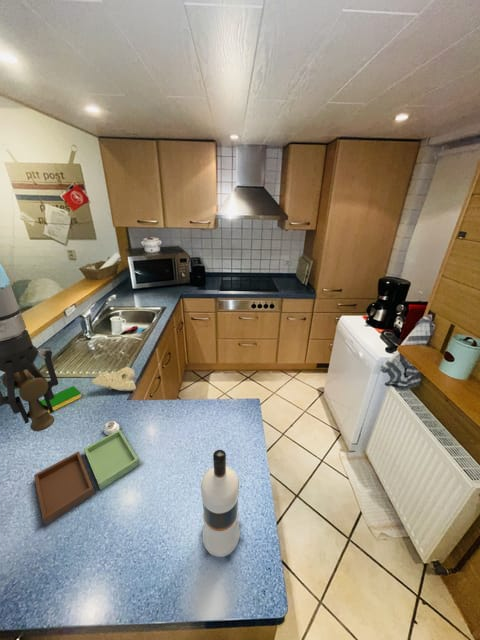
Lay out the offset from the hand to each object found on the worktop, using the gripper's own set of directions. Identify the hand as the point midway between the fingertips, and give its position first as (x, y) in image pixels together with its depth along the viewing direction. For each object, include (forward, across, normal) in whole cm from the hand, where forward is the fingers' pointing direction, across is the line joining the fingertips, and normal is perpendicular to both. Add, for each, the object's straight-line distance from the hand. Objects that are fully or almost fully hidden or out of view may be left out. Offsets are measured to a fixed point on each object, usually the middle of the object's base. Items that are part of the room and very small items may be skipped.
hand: (39, 414), depth 64 cm
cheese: (+26, +25, +31) cm, 48 cm away
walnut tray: (+26, -1, -2) cm, 26 cm away
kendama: (+4, 0, 0) cm, 4 cm away
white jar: (+26, +16, +10) cm, 32 cm away
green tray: (+26, +12, -2) cm, 29 cm away
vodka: (+26, +25, -42) cm, 56 cm away
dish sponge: (+26, +5, +39) cm, 47 cm away
